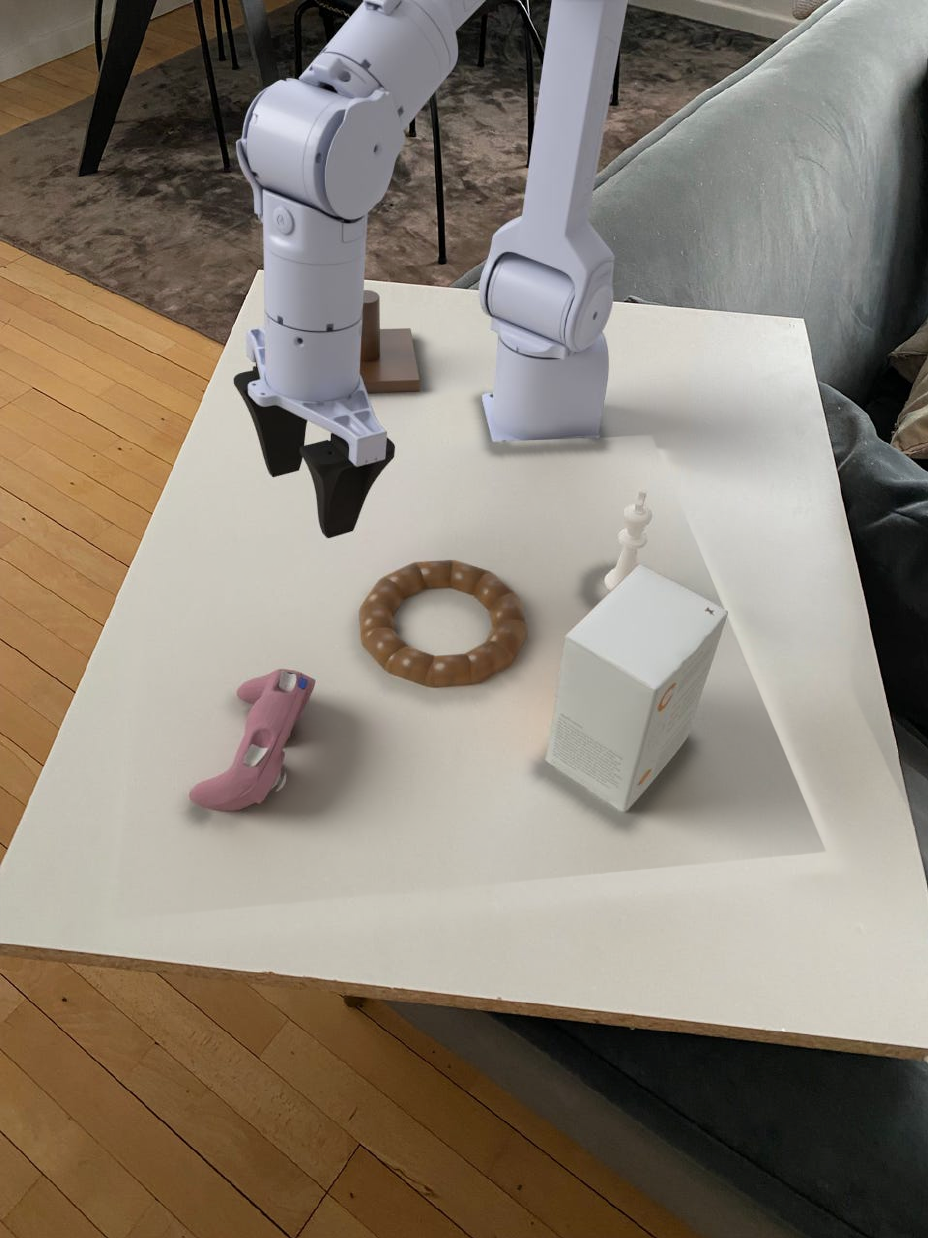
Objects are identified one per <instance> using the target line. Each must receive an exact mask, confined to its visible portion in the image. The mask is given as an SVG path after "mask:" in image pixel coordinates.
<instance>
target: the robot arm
mask: <svg viewBox="0 0 928 1238" xmlns="http://www.w3.org/2000/svg"><path fill="white" fill-rule="evenodd" d="M485 2H486V0H362V2H361V4H360V5H359V6H358V7H357V9H356V10H355V11H353V13H352V15H351V16H350V17H349V18H348V19H347V20H346V22H345V23H344V24H343V25H342V27H341V28H340V29H339V30H338V31H337V32H336V34H334V36H333V37H332V38H331V39H330V40H329V42H328V43H327V44H326V45H325V47H324V48H323V49H322V50H321V51H320V52H319V54H318V55H317V56H316V57H315V58H314V59H313V61H312V62H311V63H310V64H309V65H308V67H307V68H306V69H305V70H304V71H303V72H302V74H301V75H300V76H299V77H298V79H297V78H292V77H291V78H286V80H283V79H279V80H278V81H275V82H274V83H273V84H271V85H269V86H268V87H265V88H264V89H263V90H261V91H260V92H259V93H258V94H257V95H255V96H256V97H255V98H254V99H253V100H252V102H251V104H250V106H249V107H248V109H247V112H246V115H245V118H244V122H243V127H242V135H241V138H240V139H237V140H236V142H235V145H236V146H235V147H236V148H235V149H236V155H237V160H238V163H239V168H240V169H241V172H242V174H243V176H244V177H245V179H246V181H248V183H249V185H250V186H251V189H252V192H253V203H254V204H253V210H254V214H256V215H257V217H258V220H259V221H260V222H261V224H262V239H263V303H264V304H263V305H264V306H263V307H264V308H263V309H264V326H259V327H254V328H248V329H246V330H245V341H246V344H245V345H246V346H245V347H246V357H247V359H249V360H250V361H251V362H252V363H255V365H253V366H252V370H247V371H243V372H239V373H237V374H236V375H234V377H233V385H234V387H235V388H236V390H237V392H238V393H239V395H240V396H241V398H242V400H243V402H244V404H245V406H246V408H247V410H248V412H249V414H250V417H251V420H252V422H253V425H254V428H255V431H256V435H257V438H258V441H259V445H260V449H261V453H262V456H263V461H264V463H265V467H266V469H267V472H268V474H269V475H270V476H271V477H272V478H276V477H280V476H284V475H288V474H291V473H295V472H299V471H300V469H301V466H302V463H303V460H304V462H305V464H306V466H307V468H308V471H309V473H310V476H311V480H312V483H313V487H314V491H315V496H316V497H315V498H316V508H317V510H316V511H317V517H318V519H317V520H318V524H319V528H320V531H321V533H322V535H323V536H324V537H325V538H326V539H331V538H334V537H338V536H342V535H345V534H348V533H351V532H354V531H355V528H356V526H357V523H358V520H359V517H360V515H361V512H362V509H363V506H364V503H365V500H366V499H367V496H368V495H369V492H370V491H371V488H372V486H373V485H374V484H375V481H376V480H377V479H378V478H379V476H380V475H381V473H382V472H383V470H384V469H386V467H387V466H388V465H389V464H390V463H391V461H392V460H393V459H394V458H395V455H396V454H395V452H396V445H395V443H394V442H393V441H392V440H391V439H390V438H389V437H388V431H387V429H385V428H384V427H383V426H382V425H381V424H380V422H379V421H378V418H377V416H376V413H375V411H374V408H373V405H372V402H371V400H370V396H369V393H367V391H366V388H365V385H364V383H363V380H362V377H361V375H360V373H359V372H360V352H361V333H362V316H363V293H364V290H365V274H366V273H365V271H366V253H367V238H368V215H369V212H370V211H372V210H373V209H374V208H375V207H376V205H377V204H379V203H380V202H381V201H383V198H384V197H385V194H386V193H387V190H388V188H389V185H390V183H391V179H392V177H393V174H394V171H395V170H394V169H395V164H396V161H397V158H398V156H399V155H400V153H401V151H403V149H404V144H405V142H406V140H407V139H406V138H407V137H406V134H405V130H406V129H407V127H408V126H410V123H412V121H413V120H414V119H415V117H416V116H417V115H418V114H419V112H420V111H421V110H422V108H424V106H426V104H427V103H428V101H429V100H430V99H431V98H432V96H433V95H434V94H435V92H436V91H437V90H438V89H439V87H440V86H441V85H442V84H443V82H444V81H445V80H446V79H447V77H449V75H450V74H451V72H452V71H453V70H454V68H455V66H456V65H457V62H458V57H459V43H458V38H457V34H456V33H457V31H458V30H459V29H460V28H461V27H462V25H463V24H464V23H465V22H466V21H467V20H468V19H469V18H470V17H471V16H472V15H473V14H474V13H475V12H476V11H477V10H479V8H480V7H481V6H482V5H483V3H485ZM628 2H629V0H551V5H550V11H549V18H548V20H549V21H548V25H547V33H546V39H545V47H544V55H543V64H542V70H541V77H540V83H539V92H538V98H537V105H536V113H535V120H534V127H533V134H532V141H531V149H530V156H529V163H528V169H527V177H526V184H525V190H524V191H525V192H524V198H523V199H524V200H523V206H522V214H521V215H520V216H518V217H515V218H513V219H511V220H509V221H508V222H506V223H504V224H503V225H502V226H501V227H499V228H498V230H497V231H495V233H494V234H493V235H492V237H491V238H492V239H491V245H490V249H489V253H488V256H487V260H486V262H485V264H484V266H483V269H482V272H481V275H480V278H479V284H478V298H479V305H480V308H481V310H482V313H484V314H485V315H486V316H488V317H489V318H491V322H490V330H491V331H492V332H494V333H496V334H497V343H496V353H495V369H494V378H493V379H494V381H493V392H485V393H483V394H482V395H481V401H482V402H481V403H482V406H483V410H484V415H485V418H486V422H487V427H488V430H489V434H490V438H491V442H492V443H499V442H502V443H503V442H523V441H525V442H526V441H546V440H548V441H549V440H569V439H570V440H571V439H573V440H574V439H594V438H600V435H599V434H600V429H601V421H602V417H603V411H604V406H605V399H606V394H607V388H608V383H609V382H608V381H609V370H610V369H609V368H610V357H609V355H610V354H609V346H608V342H607V338H606V335H605V333H604V330H605V328H606V326H607V323H608V321H609V319H610V316H611V312H612V309H613V304H614V289H613V275H614V270H615V269H614V268H615V265H614V263H615V259H616V257H615V254H614V253H613V251H612V250H611V248H610V247H609V246H608V244H607V243H606V242H605V241H604V239H603V238H602V237H601V236H600V235H599V233H598V232H597V231H596V229H595V228H594V227H593V225H592V223H591V222H590V220H589V216H590V211H591V206H592V200H593V194H594V189H595V184H596V178H597V173H598V167H599V162H600V161H599V160H600V155H601V150H602V146H603V139H604V134H605V128H606V123H607V116H608V112H609V105H610V102H611V101H610V100H611V96H612V95H611V94H612V89H613V84H614V79H615V73H616V67H617V62H618V56H619V52H620V51H619V50H620V47H621V46H620V45H621V40H622V35H623V29H624V23H625V18H626V13H627V8H628V7H627V6H628ZM308 422H309V423H312V424H314V425H315V426H318V427H319V428H321V429H324V430H326V431H327V432H329V433H330V437H329V438H330V439H326V440H322V441H317V442H314V443H309V444H305V443H306V442H305V441H306V433H307V425H308Z"/></svg>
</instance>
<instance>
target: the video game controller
mask: <svg viewBox="0 0 928 1238" xmlns="http://www.w3.org/2000/svg"><path fill="white" fill-rule="evenodd" d="M315 685H316V679H315V678H313V677H311V676H309V675H307V674H304V673H302V672H300V671H297V670H293V669H289V668H288V669H287V668H278V669H275V670H274V671H272V672H270V673H268V674H265V675H261V676H258V677H254V678H252V679H251V678H250V679H249V680H246V681H244V682H243V683H242V684H241V685H239V686H238V688H237V690H236V696H237V698H238V699H239V700H242V701H243V702H246V703H249V704H253V705H252V706H251V708H250V710H249V712H248V714H247V717H246V721H245V727H244V734H243V737H242V739H241V741H240V744H239V745H238V747H237V750H236V753H235V756H234V759H233V761H232V764H231V765H230V767H229V769H227V770H226V771H224V772H223V773H220V774H219V775H216V776H214V777H212V778H209V779H206V780H203V781H201V782H199V783H197V784H196V785H194V786H193V788H191V789H190V791H189V794H188V796H189V800H190V801H191V802H192V803H194V804H195V805H198V806H200V807H202V808H206V809H208V810H213V811H221V812H234V811H235V812H236V811H239V810H242V809H245V808H248V807H250V806H252V805H253V804H259V805H260V804H261V803H263V801H264V800H265V799H266V797H267V796H268V794H269V793H270V791H271V790H273V789H274V788H275V789H274V790H275V791H274V792H276V793H277V792H279V791H281V789H283V788H284V786H285V784H286V782H287V773H286V772H284V773H282V772H281V771H282V766H283V763H284V760H285V758H286V757H285V756H286V751H284V747H285V746H286V743H287V741H288V739H289V738H290V737H291V732H292V729H293V728H294V725H295V724H296V722H297V721H298V720H299V718H300V717H301V715H302V713H303V712H304V711H305V709H306V707H307V705H308V703H309V701H310V699H311V698H310V697H311V695H312V694H313V691H314V689H315Z"/></svg>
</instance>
